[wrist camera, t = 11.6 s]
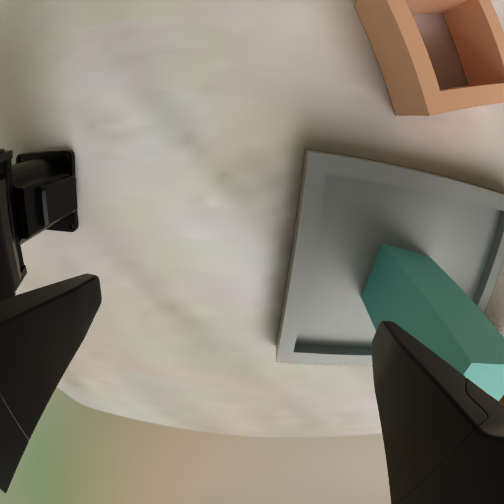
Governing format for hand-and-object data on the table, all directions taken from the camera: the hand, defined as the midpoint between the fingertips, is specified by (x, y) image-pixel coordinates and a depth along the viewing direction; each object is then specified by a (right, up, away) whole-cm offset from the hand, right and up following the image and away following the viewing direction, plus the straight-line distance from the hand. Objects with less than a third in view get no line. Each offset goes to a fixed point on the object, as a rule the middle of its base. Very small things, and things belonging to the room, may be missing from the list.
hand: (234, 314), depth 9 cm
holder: (+13, +16, +7) cm, 21 cm away
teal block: (+11, 0, +12) cm, 17 cm away
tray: (+12, 0, +13) cm, 18 cm away
